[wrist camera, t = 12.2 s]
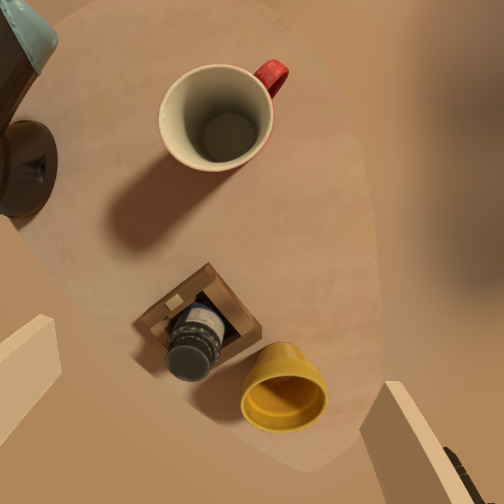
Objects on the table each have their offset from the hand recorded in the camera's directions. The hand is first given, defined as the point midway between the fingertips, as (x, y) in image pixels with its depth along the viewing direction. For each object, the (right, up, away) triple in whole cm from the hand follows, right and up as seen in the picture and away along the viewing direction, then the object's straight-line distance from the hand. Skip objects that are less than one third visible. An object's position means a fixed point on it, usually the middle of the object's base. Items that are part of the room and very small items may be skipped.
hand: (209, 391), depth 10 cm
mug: (0, +20, +24) cm, 31 cm away
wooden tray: (-5, -4, +29) cm, 30 cm away
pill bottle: (-5, -4, +29) cm, 30 cm away
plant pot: (+5, -11, +31) cm, 33 cm away
